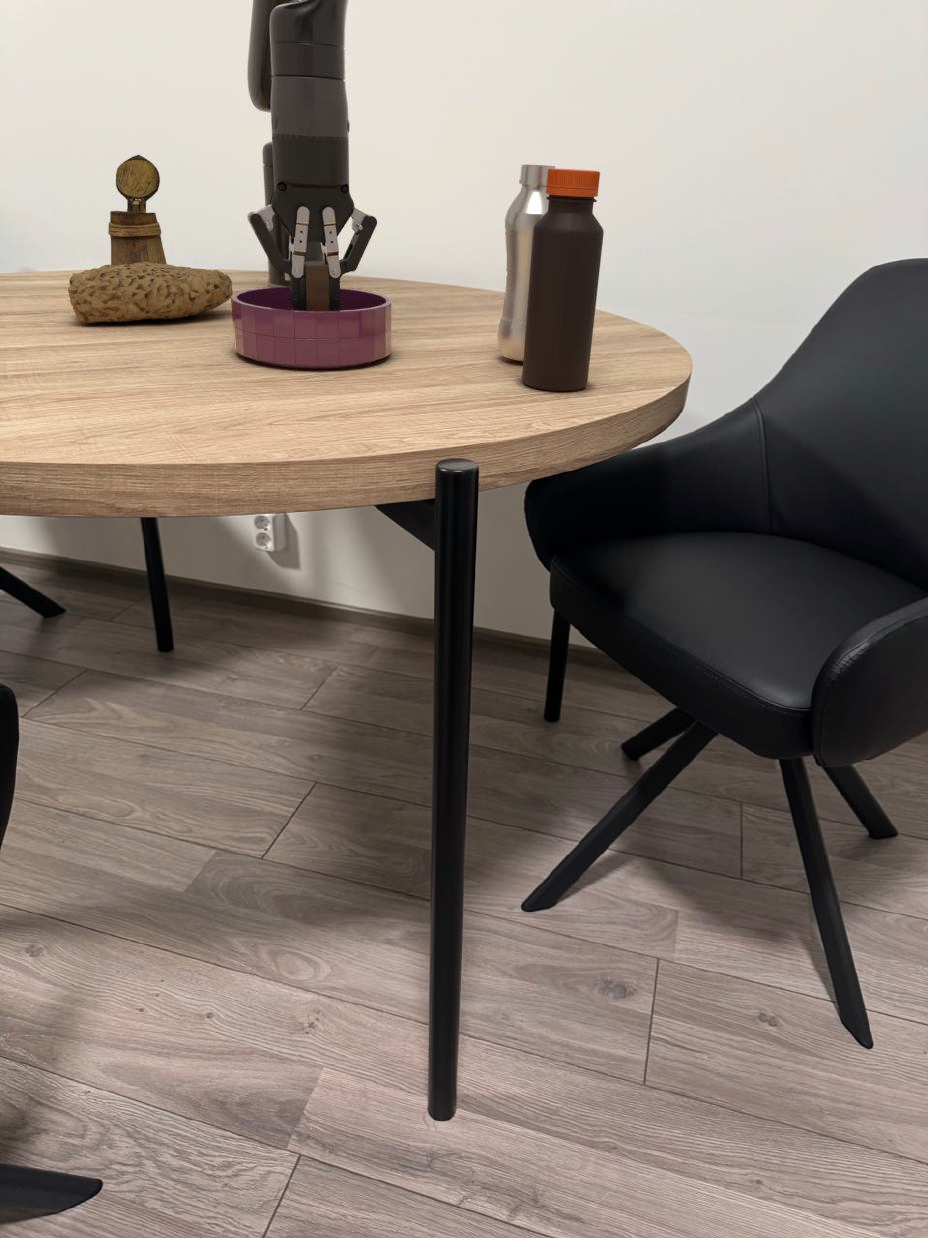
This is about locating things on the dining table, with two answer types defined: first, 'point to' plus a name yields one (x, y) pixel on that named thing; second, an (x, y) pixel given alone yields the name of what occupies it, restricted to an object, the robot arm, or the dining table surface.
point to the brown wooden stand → (136, 215)
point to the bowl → (311, 329)
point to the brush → (316, 285)
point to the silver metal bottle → (521, 257)
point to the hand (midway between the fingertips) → (315, 312)
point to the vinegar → (563, 283)
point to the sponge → (146, 292)
